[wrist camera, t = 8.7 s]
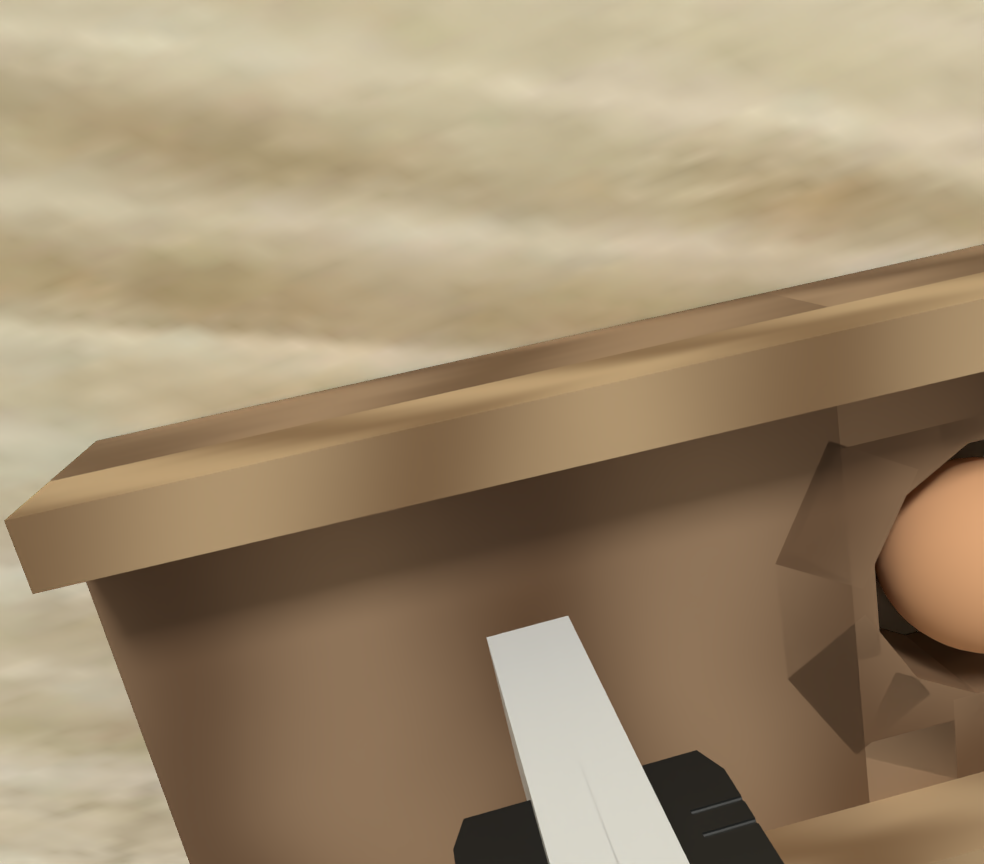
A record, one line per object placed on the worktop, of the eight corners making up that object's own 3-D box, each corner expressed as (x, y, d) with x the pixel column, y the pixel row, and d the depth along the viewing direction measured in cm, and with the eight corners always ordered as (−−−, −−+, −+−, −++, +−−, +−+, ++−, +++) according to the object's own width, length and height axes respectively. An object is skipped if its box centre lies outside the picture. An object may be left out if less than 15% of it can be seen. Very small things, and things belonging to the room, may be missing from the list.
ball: (875, 665, 19) (940, 667, 15) (832, 492, 20) (884, 453, 16) (1061, 641, 19) (1177, 636, 15) (1007, 465, 20) (1102, 419, 16)
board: (262, 922, 20) (234, 1111, 16) (96, 441, 16) (3, 520, 12) (1196, 671, 22) (1389, 781, 18) (1218, 192, 18) (1465, 189, 14)
